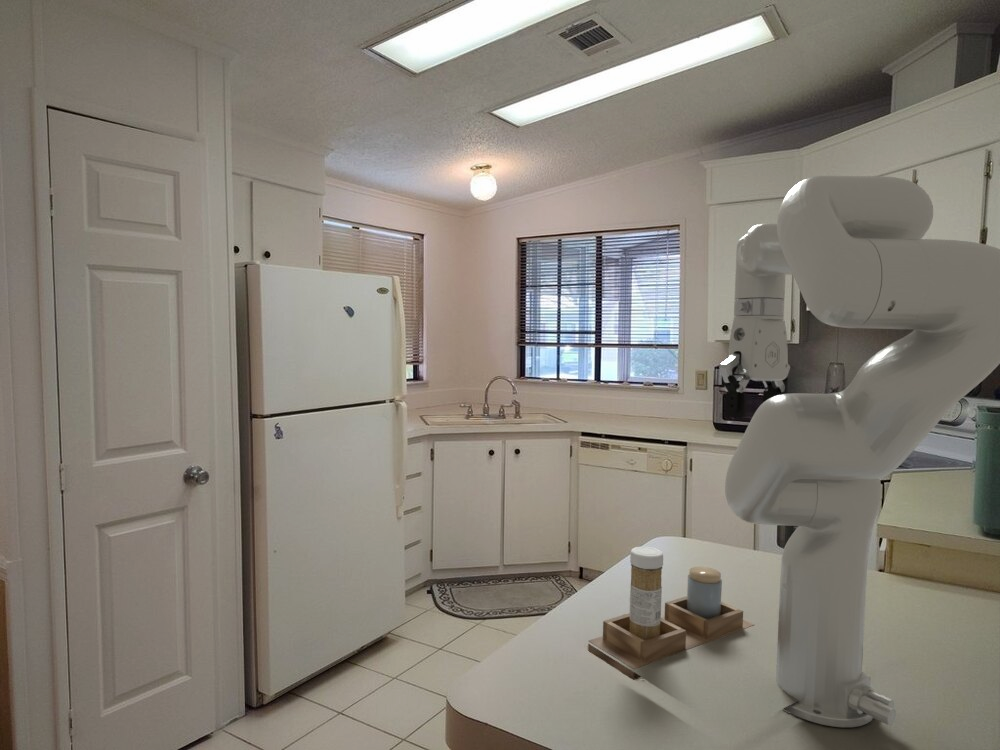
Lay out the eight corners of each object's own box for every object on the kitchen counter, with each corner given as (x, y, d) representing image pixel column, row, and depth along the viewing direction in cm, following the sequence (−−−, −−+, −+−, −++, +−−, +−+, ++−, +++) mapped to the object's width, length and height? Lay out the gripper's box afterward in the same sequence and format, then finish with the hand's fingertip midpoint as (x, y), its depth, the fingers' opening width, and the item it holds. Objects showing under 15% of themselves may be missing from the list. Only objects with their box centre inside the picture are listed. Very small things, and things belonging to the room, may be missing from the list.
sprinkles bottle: (641, 632, 91) (643, 543, 90) (667, 644, 87) (670, 551, 87) (621, 641, 88) (624, 549, 87) (647, 653, 84) (650, 558, 84)
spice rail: (754, 634, 95) (755, 608, 94) (633, 679, 80) (634, 650, 80) (706, 612, 102) (707, 588, 102) (588, 650, 88) (588, 623, 88)
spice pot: (727, 625, 94) (729, 574, 94) (705, 632, 91) (707, 580, 91) (700, 613, 98) (702, 564, 98) (679, 620, 95) (681, 569, 95)
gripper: (746, 307, 92) (741, 420, 92) (810, 313, 101) (805, 416, 102) (704, 309, 98) (700, 415, 98) (769, 315, 107) (765, 411, 108)
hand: (754, 415), depth 100 cm, fingers open, 9 cm apart
